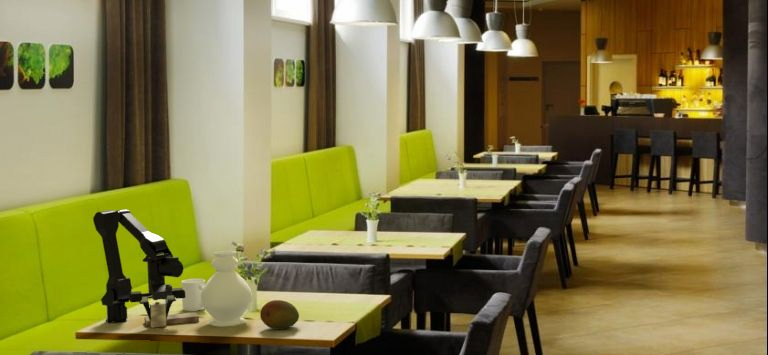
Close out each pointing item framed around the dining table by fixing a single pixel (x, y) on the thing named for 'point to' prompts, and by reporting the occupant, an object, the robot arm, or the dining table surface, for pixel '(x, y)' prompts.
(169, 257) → the robot arm
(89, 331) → the dining table surface
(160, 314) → the beige box with knob
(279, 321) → the fruit
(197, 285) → the mug
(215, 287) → the decorative vase
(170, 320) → the board
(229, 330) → the dining table surface
